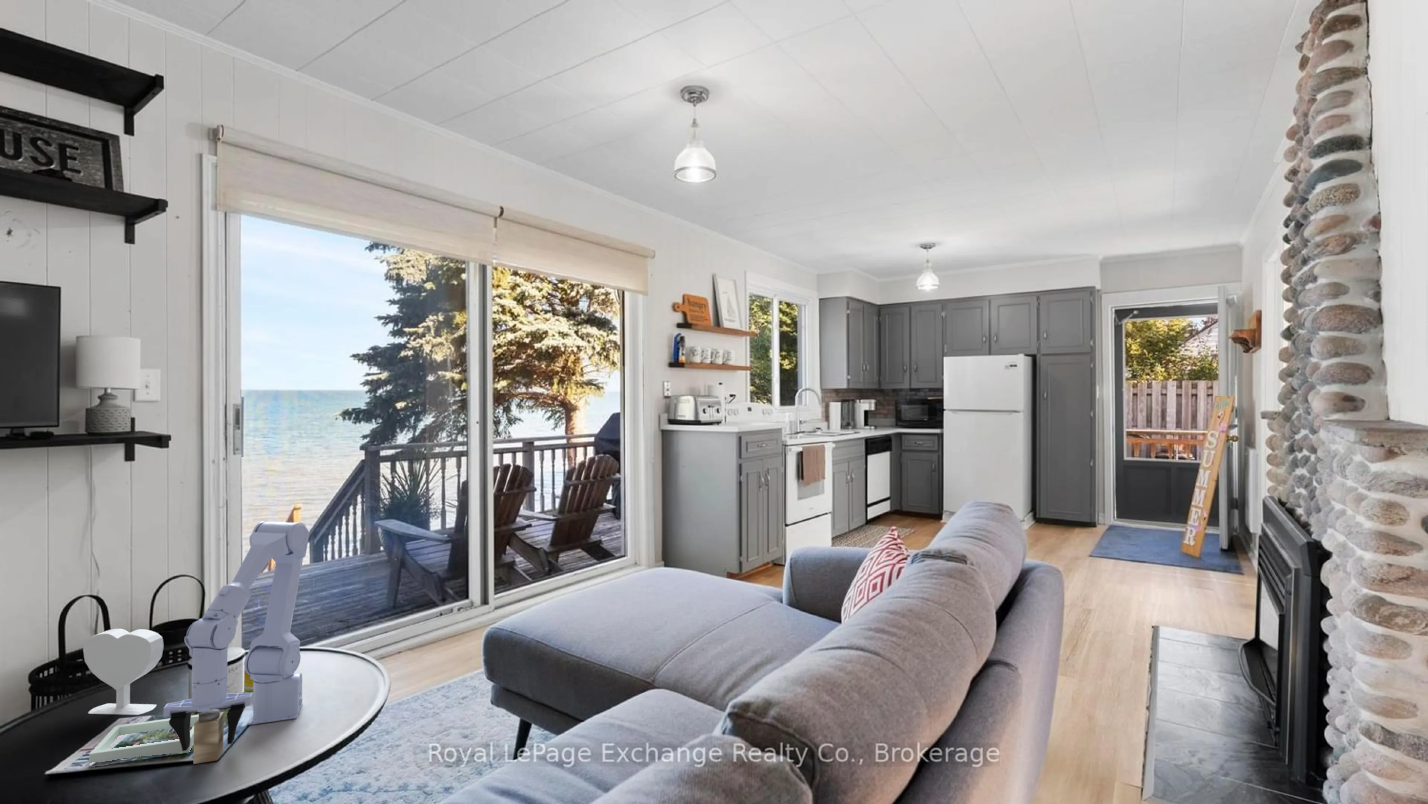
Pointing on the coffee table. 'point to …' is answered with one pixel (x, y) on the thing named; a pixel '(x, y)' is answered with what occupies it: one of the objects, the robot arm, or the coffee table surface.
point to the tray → (149, 749)
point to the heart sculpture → (122, 664)
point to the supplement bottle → (247, 683)
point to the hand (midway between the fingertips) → (208, 744)
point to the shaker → (208, 736)
